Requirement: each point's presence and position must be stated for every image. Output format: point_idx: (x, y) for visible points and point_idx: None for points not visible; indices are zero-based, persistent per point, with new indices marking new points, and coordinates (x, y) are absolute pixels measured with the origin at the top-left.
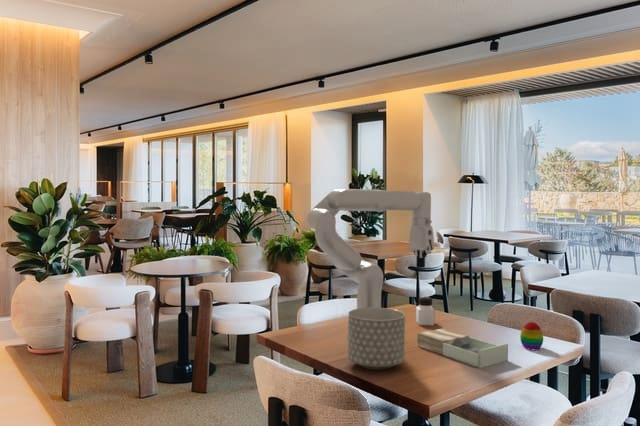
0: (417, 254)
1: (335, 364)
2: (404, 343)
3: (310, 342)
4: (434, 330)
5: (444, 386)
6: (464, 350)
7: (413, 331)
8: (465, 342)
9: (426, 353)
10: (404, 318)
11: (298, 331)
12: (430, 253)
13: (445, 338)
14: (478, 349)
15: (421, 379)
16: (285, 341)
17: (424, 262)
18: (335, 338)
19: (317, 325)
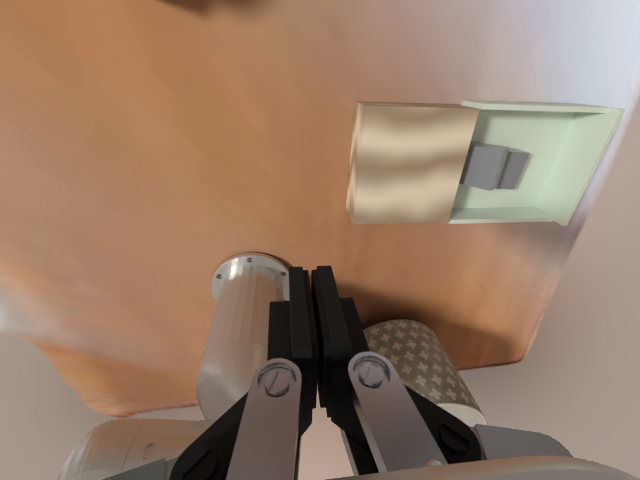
0: (299, 459)
1: None
2: (445, 353)
3: (196, 370)
4: (365, 157)
5: (513, 313)
6: (515, 221)
7: (211, 98)
8: (499, 177)
9: (399, 230)
10: (479, 409)
11: (91, 361)
12: (541, 441)
13: (440, 197)
14: (525, 159)
15: (472, 322)
16: (169, 398)
17: (358, 318)
18: (187, 324)
19: (32, 308)
